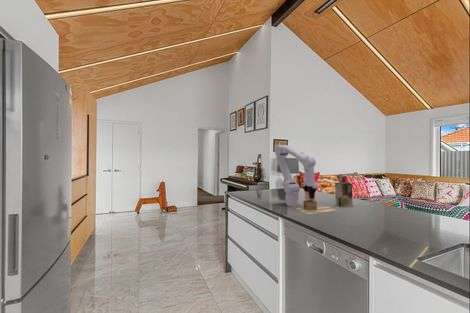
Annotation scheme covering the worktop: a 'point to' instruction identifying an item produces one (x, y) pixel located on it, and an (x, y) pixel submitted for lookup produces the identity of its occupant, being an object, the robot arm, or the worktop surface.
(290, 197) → the robot arm
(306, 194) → the block
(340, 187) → the coffee box
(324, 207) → the board
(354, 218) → the worktop surface
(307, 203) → the slab high
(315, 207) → the slab low
